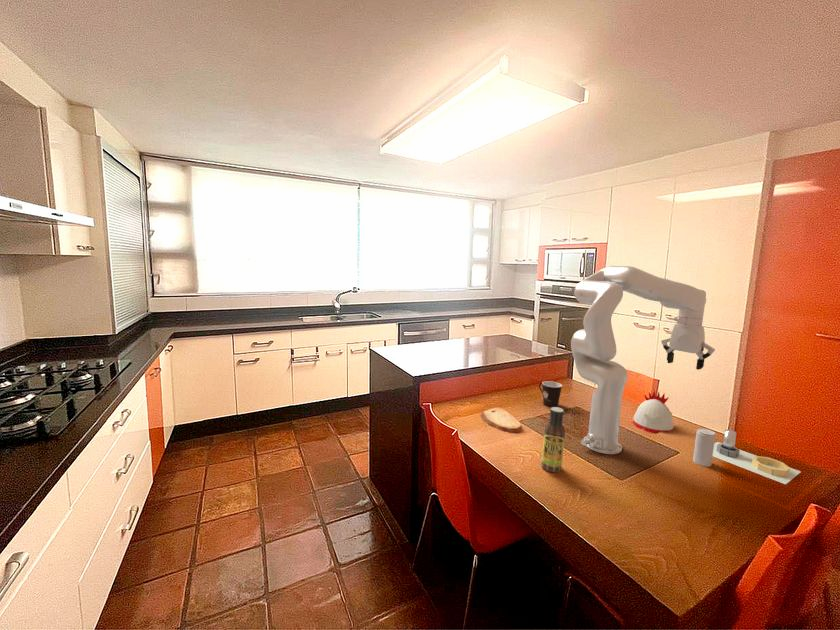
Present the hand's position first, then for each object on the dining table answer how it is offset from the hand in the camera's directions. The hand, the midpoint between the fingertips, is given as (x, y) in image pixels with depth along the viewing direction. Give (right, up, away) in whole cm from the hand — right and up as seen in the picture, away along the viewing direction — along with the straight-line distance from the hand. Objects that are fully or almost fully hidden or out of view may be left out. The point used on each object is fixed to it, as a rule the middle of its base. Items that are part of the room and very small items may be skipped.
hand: (684, 365), depth 139 cm
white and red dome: (-6, -26, +9) cm, 29 cm away
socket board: (+8, -30, -18) cm, 36 cm away
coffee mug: (-40, -23, +32) cm, 56 cm away
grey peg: (+5, -28, -14) cm, 32 cm away
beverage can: (-9, -30, -20) cm, 37 cm away
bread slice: (-68, -25, +12) cm, 73 cm away
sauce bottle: (-59, -30, -23) cm, 70 cm away
